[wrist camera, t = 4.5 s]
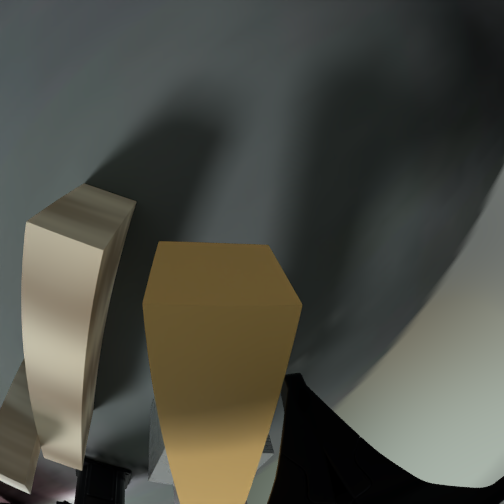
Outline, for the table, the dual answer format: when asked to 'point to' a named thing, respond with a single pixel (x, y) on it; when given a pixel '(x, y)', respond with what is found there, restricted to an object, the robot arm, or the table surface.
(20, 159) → the table surface
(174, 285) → the bar
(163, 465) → the jamb post
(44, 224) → the grey-beige crossed blocks
